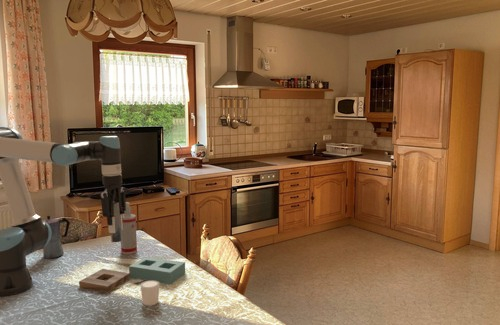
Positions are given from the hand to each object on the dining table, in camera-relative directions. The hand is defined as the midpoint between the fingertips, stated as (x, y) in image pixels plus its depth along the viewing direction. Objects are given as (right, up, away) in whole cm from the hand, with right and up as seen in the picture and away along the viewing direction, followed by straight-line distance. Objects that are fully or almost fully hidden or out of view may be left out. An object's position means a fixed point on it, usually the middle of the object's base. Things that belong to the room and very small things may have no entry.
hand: (115, 230), depth 172 cm
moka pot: (-40, -17, +33) cm, 55 cm away
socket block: (-5, -21, +1) cm, 22 cm away
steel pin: (0, -4, +1) cm, 4 cm away
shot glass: (+18, -24, -16) cm, 34 cm away
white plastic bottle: (-6, -17, +38) cm, 42 cm away
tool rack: (+15, -20, +8) cm, 27 cm away
